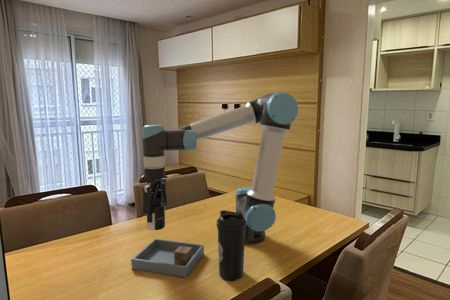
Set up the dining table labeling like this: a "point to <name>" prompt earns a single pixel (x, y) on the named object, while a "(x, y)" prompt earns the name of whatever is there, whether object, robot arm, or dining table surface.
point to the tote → (166, 258)
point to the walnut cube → (182, 255)
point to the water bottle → (231, 244)
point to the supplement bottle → (159, 213)
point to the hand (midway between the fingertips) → (156, 225)
